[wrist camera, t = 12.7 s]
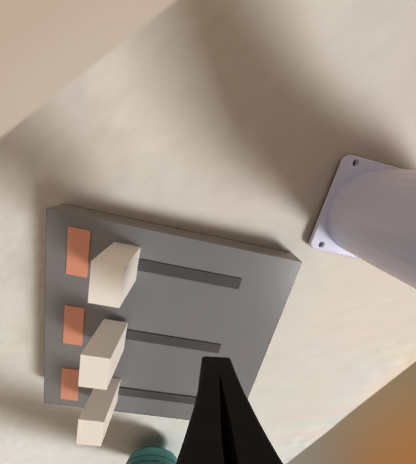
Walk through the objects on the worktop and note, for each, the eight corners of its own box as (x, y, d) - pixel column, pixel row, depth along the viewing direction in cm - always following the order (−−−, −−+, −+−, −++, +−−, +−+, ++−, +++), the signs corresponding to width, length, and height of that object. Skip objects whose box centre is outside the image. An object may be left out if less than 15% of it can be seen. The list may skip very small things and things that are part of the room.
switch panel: (291, 252, 18) (327, 285, 13) (233, 405, 24) (243, 471, 19) (64, 204, 16) (0, 219, 11) (57, 382, 22) (12, 449, 17)
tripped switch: (127, 322, 17) (110, 358, 14) (123, 349, 18) (106, 390, 15) (104, 318, 17) (80, 354, 14) (101, 346, 18) (78, 386, 15)
